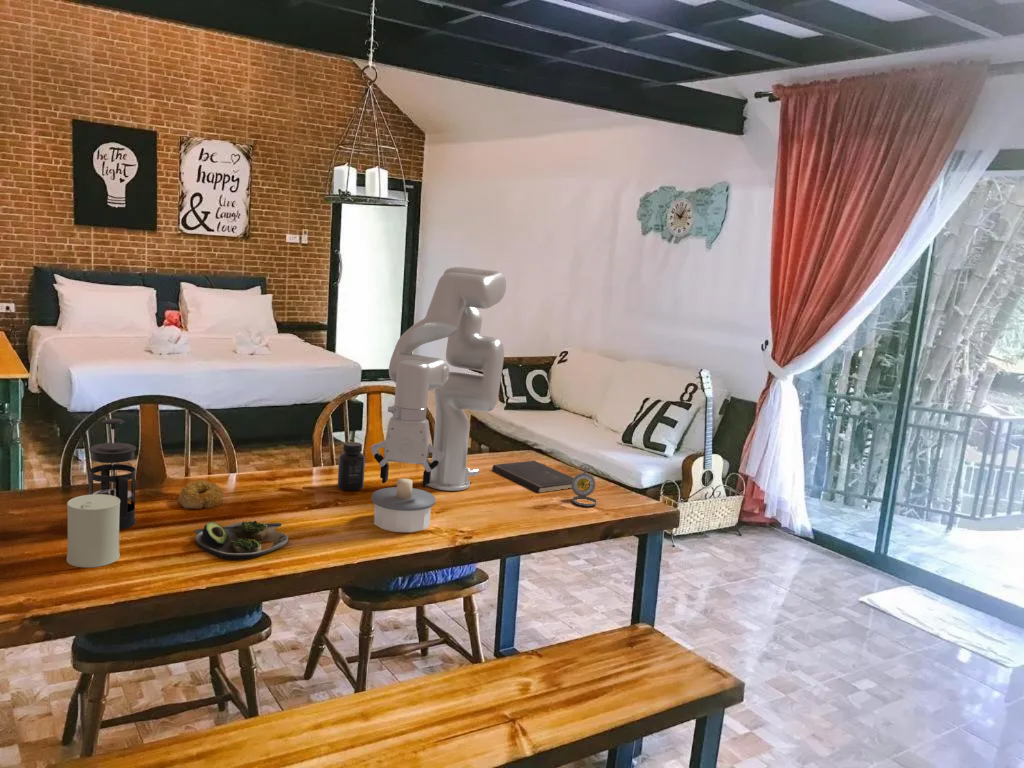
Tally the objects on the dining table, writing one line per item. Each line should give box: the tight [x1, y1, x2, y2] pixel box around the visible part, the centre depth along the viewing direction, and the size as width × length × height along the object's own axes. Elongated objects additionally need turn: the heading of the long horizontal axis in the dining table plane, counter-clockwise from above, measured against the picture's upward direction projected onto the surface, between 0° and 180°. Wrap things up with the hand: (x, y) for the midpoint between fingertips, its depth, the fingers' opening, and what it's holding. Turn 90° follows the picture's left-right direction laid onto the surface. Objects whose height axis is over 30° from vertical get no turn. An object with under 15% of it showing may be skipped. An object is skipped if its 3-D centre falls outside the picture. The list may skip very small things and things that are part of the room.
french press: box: [88, 418, 137, 531], centre depth 174 cm, size 12×9×23 cm
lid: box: [371, 477, 436, 511], centre depth 192 cm, size 15×15×5 cm
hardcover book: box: [491, 460, 579, 494], centre depth 241 cm, size 16×23×2 cm
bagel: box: [177, 479, 224, 510], centre depth 193 cm, size 10×11×5 cm
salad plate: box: [192, 520, 290, 561], centre depth 173 cm, size 19×18×5 cm
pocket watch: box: [571, 463, 598, 507], centre depth 222 cm, size 8×8×10 cm
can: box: [66, 494, 121, 569], centre depth 157 cm, size 9×9×12 cm
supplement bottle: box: [337, 441, 366, 492], centre depth 215 cm, size 7×7×12 cm
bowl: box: [373, 503, 432, 533], centre depth 193 cm, size 13×13×6 cm
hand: (404, 483), depth 192 cm, fingers open, 9 cm apart
